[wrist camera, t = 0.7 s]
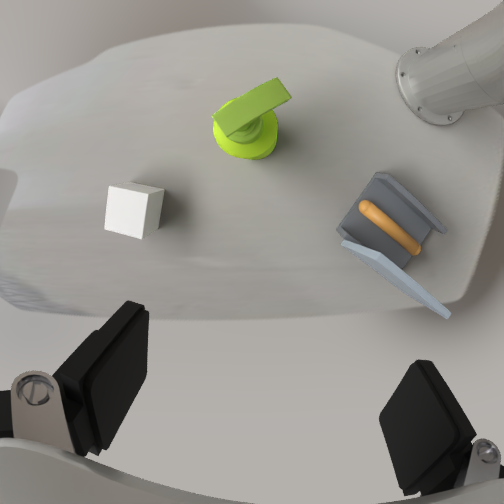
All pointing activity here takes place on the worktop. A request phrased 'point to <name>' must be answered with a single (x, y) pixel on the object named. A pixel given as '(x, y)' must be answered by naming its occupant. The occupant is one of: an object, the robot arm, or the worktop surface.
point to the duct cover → (396, 276)
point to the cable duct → (388, 220)
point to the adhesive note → (133, 209)
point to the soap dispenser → (250, 121)
